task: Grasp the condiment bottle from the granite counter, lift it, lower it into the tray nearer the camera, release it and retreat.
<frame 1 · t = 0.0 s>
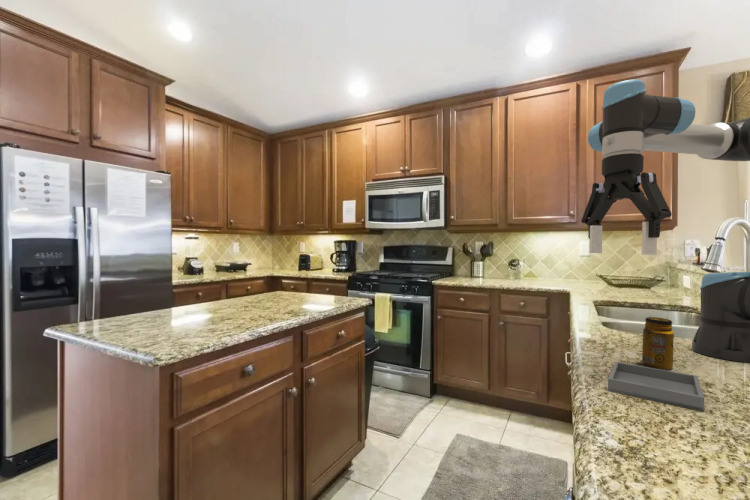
hand: (620, 254, 79), 28 cm above the countertop, tool pointing down, fingers open, 13 cm apart
tray: (653, 389, 76), on the countertop
condiment: (655, 368, 90), on the countertop
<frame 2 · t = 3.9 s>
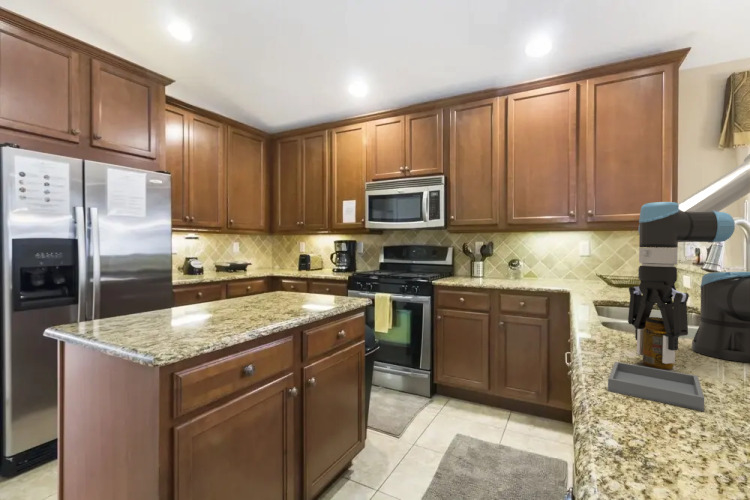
hand: (655, 358, 90), 2 cm above the countertop, tool pointing down, fingers closed on condiment, 6 cm apart
condiment: (655, 368, 90), on the countertop, touching gripper
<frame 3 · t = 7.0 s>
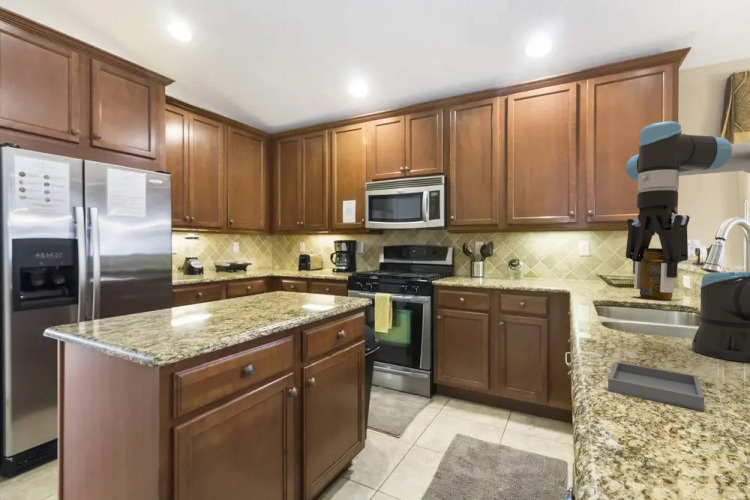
hand: (653, 290, 85), 20 cm above the countertop, tool pointing down, fingers closed on condiment, 6 cm apart
condiment: (653, 300, 85), point 17 cm above the countertop, touching gripper
when the fingers open (4 cm above the countertop, at t = 10.5 s): condiment drops 1 cm, resting on tray.
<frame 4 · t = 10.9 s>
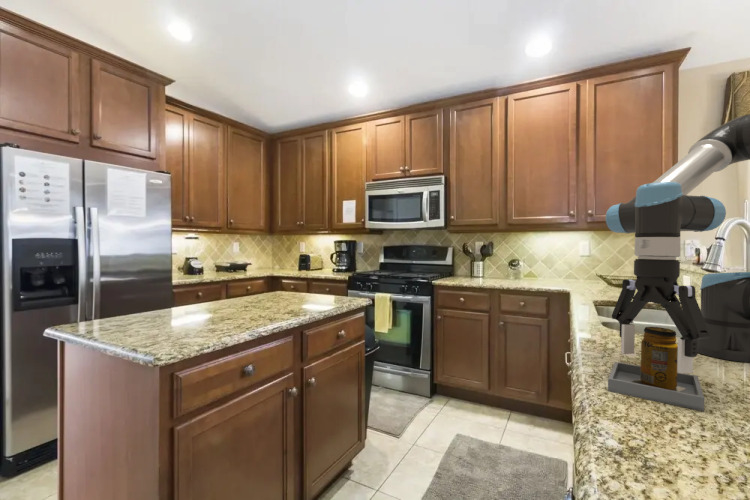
hand: (654, 362, 76), 6 cm above the countertop, tool pointing down, fingers open, 12 cm apart
condiment: (655, 388, 75), resting on tray
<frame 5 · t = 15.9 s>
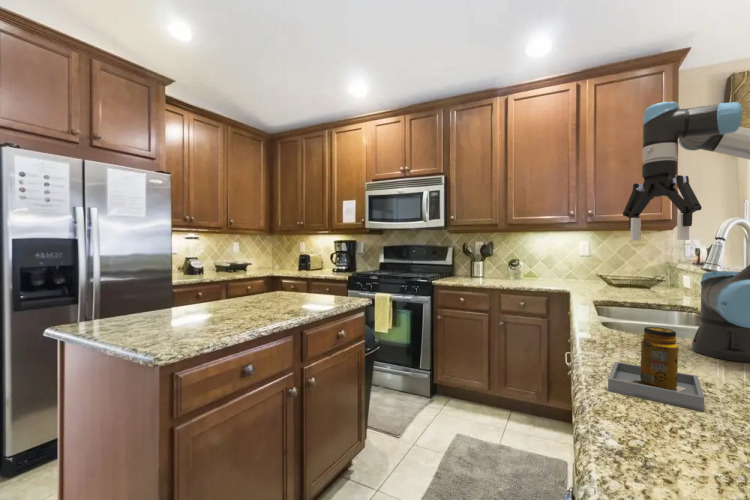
hand: (657, 240, 99), 32 cm above the countertop, tool pointing down, fingers open, 13 cm apart
nothing on the countertop moved.
at the end: condiment inside the target area on the tray (0.4 cm from its centre), point 0.4 cm above the tray's base; condiment tilted 0°; the gripper is holding nothing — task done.
